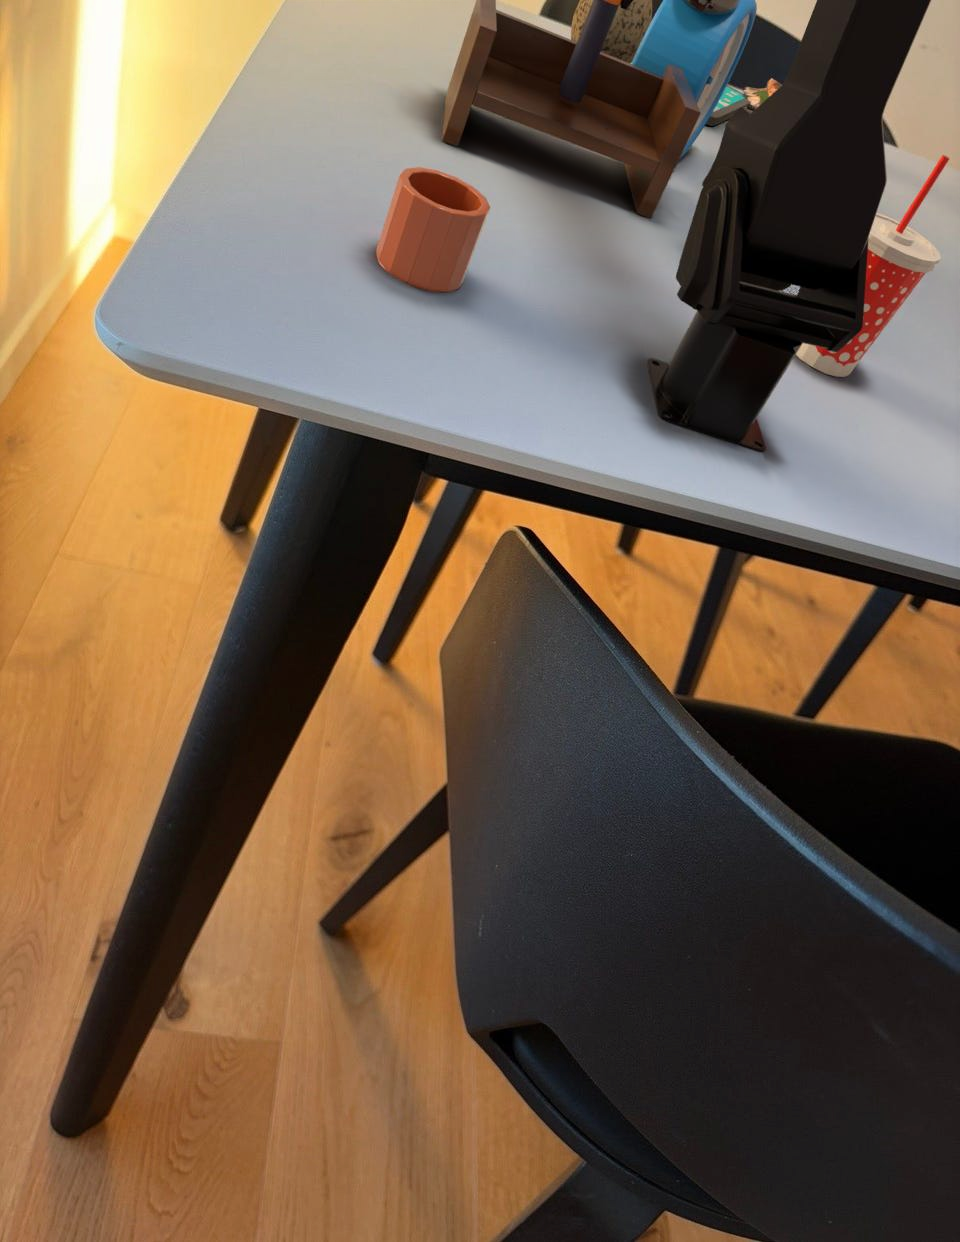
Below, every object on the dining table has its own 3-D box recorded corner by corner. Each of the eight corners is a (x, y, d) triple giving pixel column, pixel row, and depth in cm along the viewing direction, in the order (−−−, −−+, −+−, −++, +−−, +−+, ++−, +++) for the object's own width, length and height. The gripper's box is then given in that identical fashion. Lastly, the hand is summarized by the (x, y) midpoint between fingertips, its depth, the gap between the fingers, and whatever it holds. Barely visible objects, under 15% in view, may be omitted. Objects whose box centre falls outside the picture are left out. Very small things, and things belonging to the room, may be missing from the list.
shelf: (651, 218, 82) (701, 112, 77) (441, 141, 79) (480, 24, 74) (637, 168, 90) (682, 69, 85) (445, 95, 86) (480, -14, 81)
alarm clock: (659, 177, 90) (751, -18, 81) (593, 142, 91) (676, -56, 81) (697, 148, 100) (783, -29, 91) (638, 116, 101) (716, -63, 91)
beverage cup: (774, 320, 76) (891, 121, 67) (852, 352, 77) (978, 159, 68) (784, 362, 72) (911, 153, 63) (867, 395, 73) (1004, 194, 64)
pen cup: (459, 309, 61) (490, 226, 58) (369, 279, 60) (396, 192, 57) (460, 269, 65) (490, 189, 61) (376, 240, 63) (402, 157, 60)
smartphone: (641, 76, 107) (688, 61, 118) (636, 86, 108) (683, 70, 119) (717, 118, 106) (757, 99, 117) (712, 128, 106) (752, 109, 118)
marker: (582, 105, 81) (639, -36, 75) (557, 95, 80) (612, -47, 74) (581, 97, 82) (636, -42, 76) (556, 87, 82) (609, -54, 76)
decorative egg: (549, 47, 107) (590, -66, 101) (613, 67, 110) (657, -40, 104) (569, 75, 102) (614, -40, 96) (636, 96, 105) (684, -15, 99)
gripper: (817, -219, 75) (709, 20, 85) (563, -342, 71) (481, -76, 81) (858, -199, 67) (733, 63, 77) (574, -337, 63) (480, -41, 73)
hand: (606, 1), depth 77 cm, fingers closed on marker, 2 cm apart
